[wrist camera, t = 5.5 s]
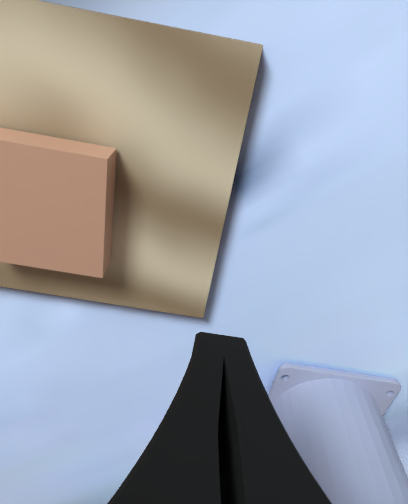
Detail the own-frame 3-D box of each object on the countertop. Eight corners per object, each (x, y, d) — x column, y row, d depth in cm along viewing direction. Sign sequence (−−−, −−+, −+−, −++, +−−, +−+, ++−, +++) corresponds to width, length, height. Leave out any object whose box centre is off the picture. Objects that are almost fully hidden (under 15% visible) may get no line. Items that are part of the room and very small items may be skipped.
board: (203, 309, 23) (203, 318, 22) (-20, 274, 22) (-27, 282, 21) (261, 44, 16) (263, 45, 15) (-67, -20, 15) (-81, -23, 14)
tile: (102, 278, 19) (-23, 258, 18) (111, 259, 20) (-5, 240, 20) (107, 159, 16) (-43, 132, 15) (117, 147, 17) (-19, 122, 17)
